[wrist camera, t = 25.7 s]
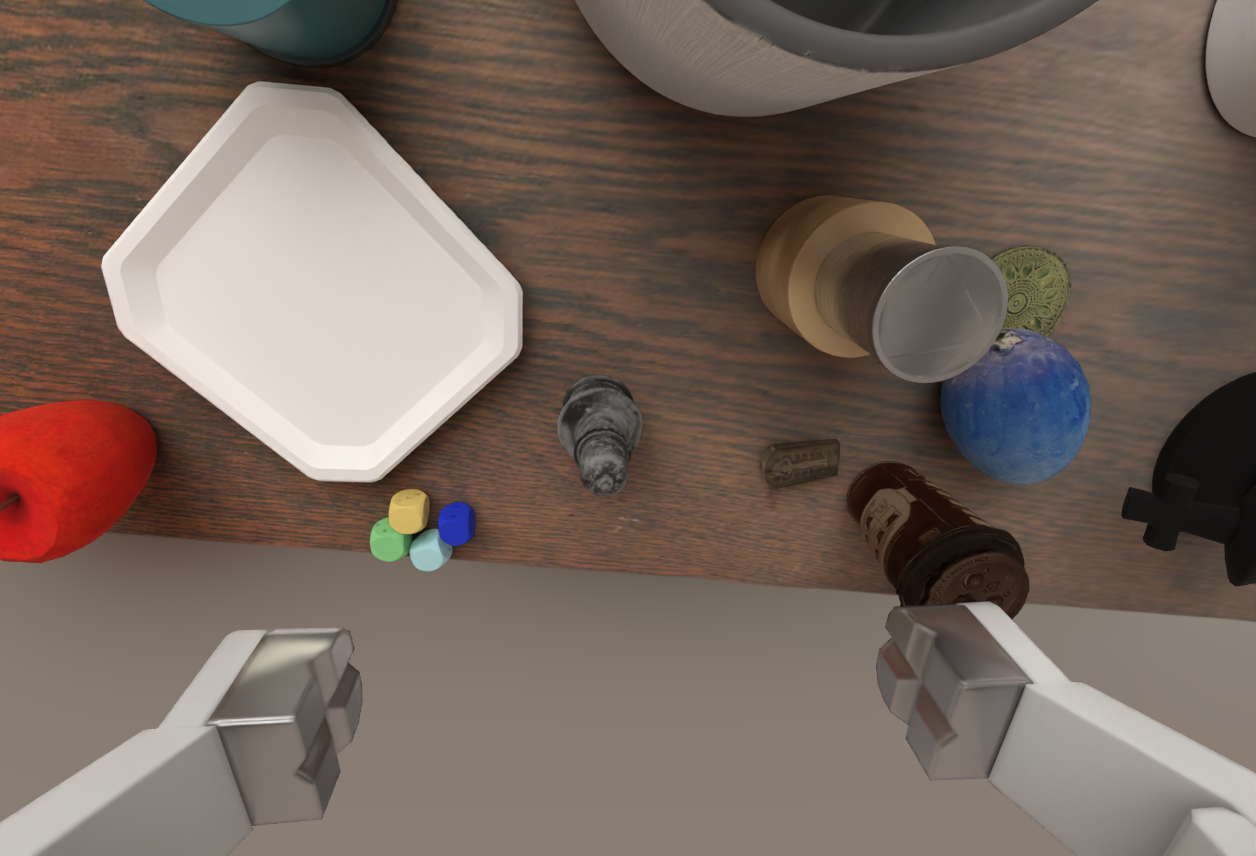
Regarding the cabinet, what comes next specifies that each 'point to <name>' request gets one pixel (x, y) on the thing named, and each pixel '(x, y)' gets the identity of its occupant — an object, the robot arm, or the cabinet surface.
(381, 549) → the dice
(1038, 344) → the blue oval fruit
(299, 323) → the plate
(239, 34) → the teal cylindrical knob
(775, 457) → the block
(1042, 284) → the medallion
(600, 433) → the salt shaker
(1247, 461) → the sculpture
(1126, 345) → the cabinet surface
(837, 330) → the silver cup
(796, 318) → the stand
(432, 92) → the cabinet surface
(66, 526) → the apple
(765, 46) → the planter
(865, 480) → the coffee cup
